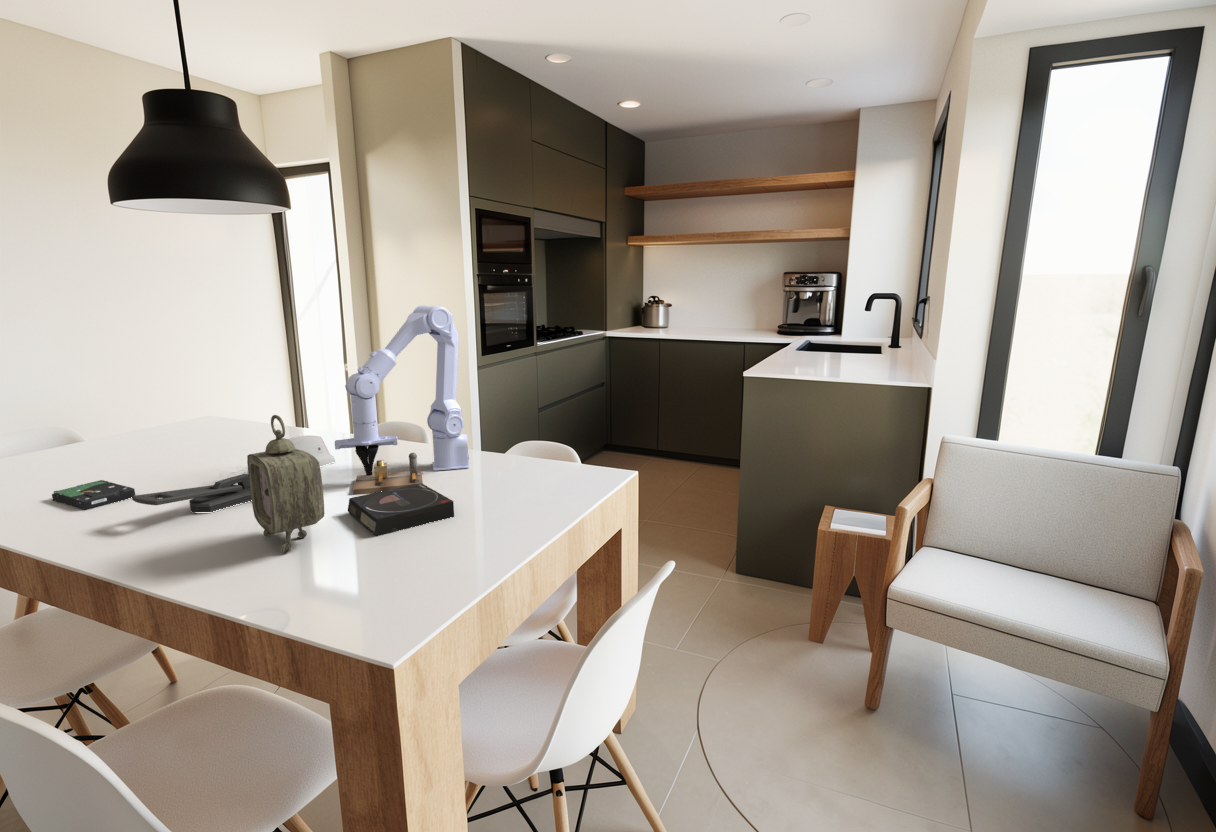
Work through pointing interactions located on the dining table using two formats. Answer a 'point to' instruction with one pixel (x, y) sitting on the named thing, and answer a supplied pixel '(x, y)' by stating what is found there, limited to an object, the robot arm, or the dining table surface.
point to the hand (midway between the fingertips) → (369, 474)
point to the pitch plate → (389, 479)
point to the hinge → (313, 448)
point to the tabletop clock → (285, 487)
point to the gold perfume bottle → (380, 470)
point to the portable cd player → (400, 508)
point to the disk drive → (93, 494)
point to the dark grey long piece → (204, 495)
